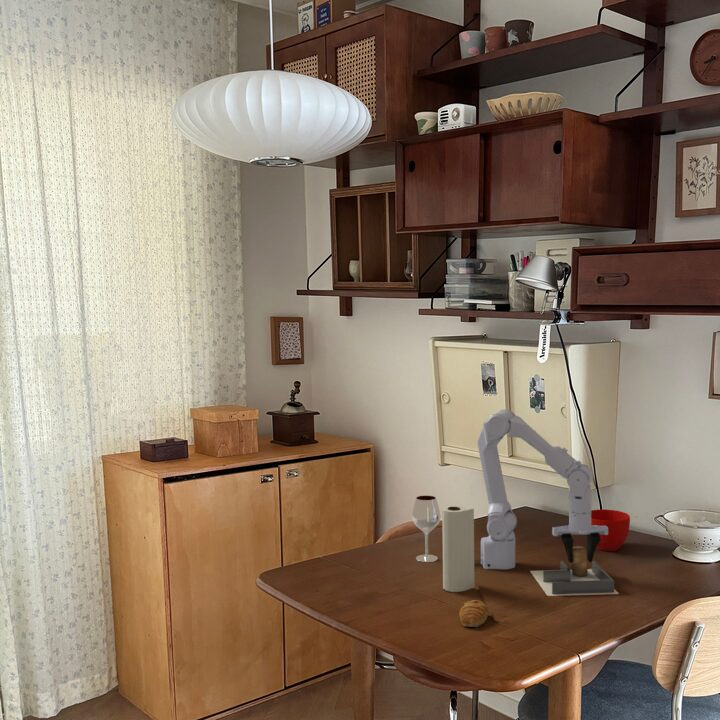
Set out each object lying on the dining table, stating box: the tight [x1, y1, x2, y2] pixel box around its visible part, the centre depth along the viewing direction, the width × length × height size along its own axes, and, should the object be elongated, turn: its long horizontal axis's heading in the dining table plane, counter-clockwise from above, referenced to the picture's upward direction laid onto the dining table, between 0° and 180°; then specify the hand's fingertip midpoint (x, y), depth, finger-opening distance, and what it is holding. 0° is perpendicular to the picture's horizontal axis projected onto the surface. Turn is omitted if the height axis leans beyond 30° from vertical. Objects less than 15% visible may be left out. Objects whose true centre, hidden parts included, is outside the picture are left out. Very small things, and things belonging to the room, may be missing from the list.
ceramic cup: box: [591, 508, 631, 552], centre depth 241 cm, size 13×17×10 cm
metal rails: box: [542, 559, 615, 594], centre depth 212 cm, size 16×16×3 cm
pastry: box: [458, 599, 490, 628], centre depth 191 cm, size 9×7×4 cm
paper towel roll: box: [441, 505, 475, 593], centre depth 210 cm, size 7×6×21 cm
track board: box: [529, 568, 620, 597], centre depth 212 cm, size 18×18×1 cm
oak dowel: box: [571, 545, 588, 577], centre depth 217 cm, size 4×4×7 cm
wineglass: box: [411, 495, 441, 563], centre depth 235 cm, size 8×8×18 cm
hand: (579, 561), depth 217 cm, fingers open, 5 cm apart
